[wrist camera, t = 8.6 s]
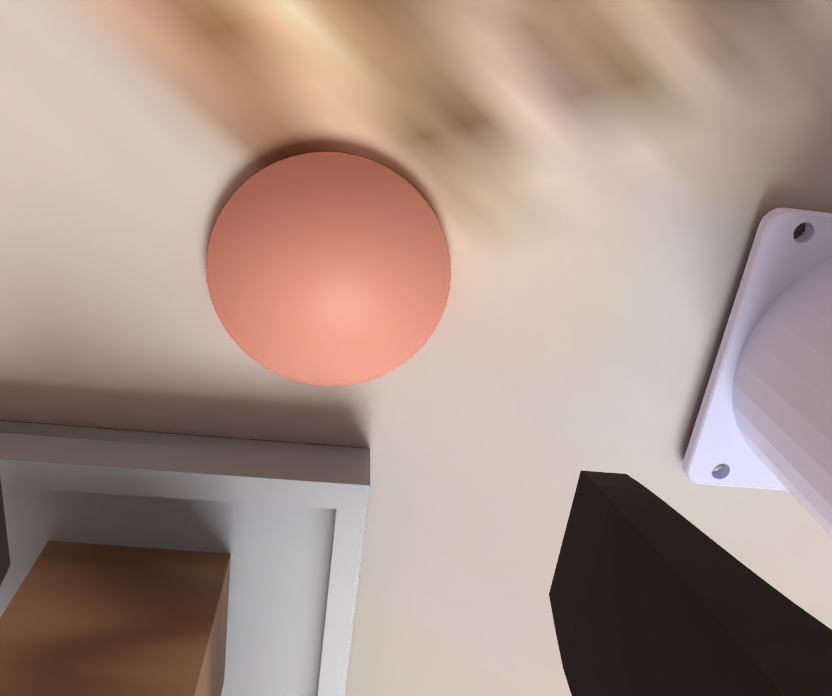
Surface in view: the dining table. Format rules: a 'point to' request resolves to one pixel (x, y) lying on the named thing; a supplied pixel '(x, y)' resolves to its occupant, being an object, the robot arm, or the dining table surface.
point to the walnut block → (117, 623)
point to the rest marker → (328, 268)
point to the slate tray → (209, 531)
